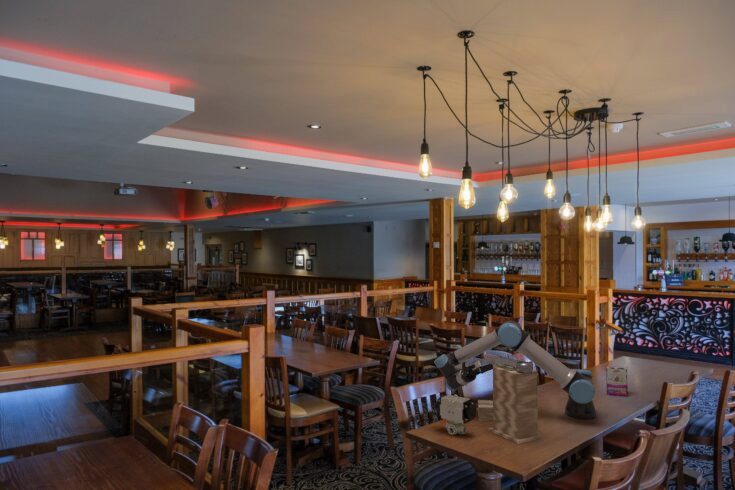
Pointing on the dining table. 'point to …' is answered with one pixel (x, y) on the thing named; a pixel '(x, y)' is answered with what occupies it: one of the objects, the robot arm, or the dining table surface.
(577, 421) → the dining table surface
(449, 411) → the ball valve
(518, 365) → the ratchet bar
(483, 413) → the beech block
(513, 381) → the oak stand
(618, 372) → the candy bar box
